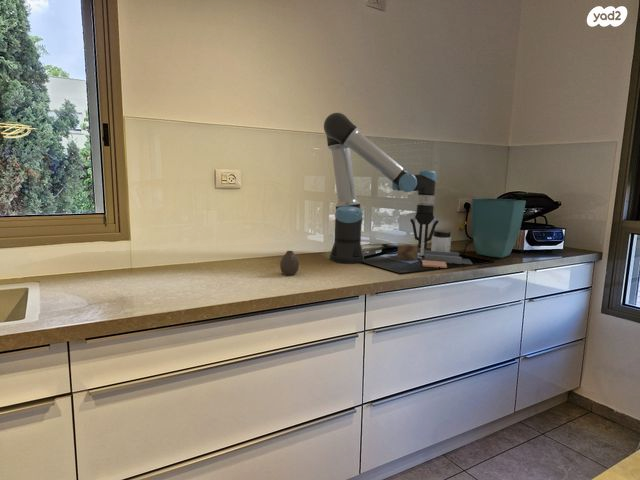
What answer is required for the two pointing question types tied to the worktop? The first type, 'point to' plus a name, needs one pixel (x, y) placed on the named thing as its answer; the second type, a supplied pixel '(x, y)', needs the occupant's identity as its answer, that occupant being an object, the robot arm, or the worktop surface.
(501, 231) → the flower pot
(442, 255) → the channel
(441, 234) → the jar
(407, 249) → the block
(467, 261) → the trap mat
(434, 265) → the block
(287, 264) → the vase
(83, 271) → the worktop surface
